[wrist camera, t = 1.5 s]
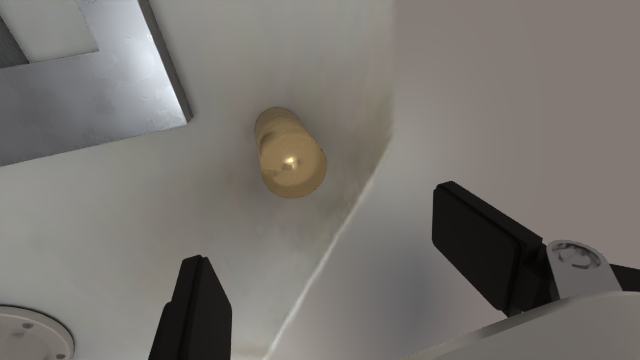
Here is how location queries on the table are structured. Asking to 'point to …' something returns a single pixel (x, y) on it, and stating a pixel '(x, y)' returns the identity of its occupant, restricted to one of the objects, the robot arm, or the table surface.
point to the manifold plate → (90, 87)
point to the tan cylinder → (288, 154)
